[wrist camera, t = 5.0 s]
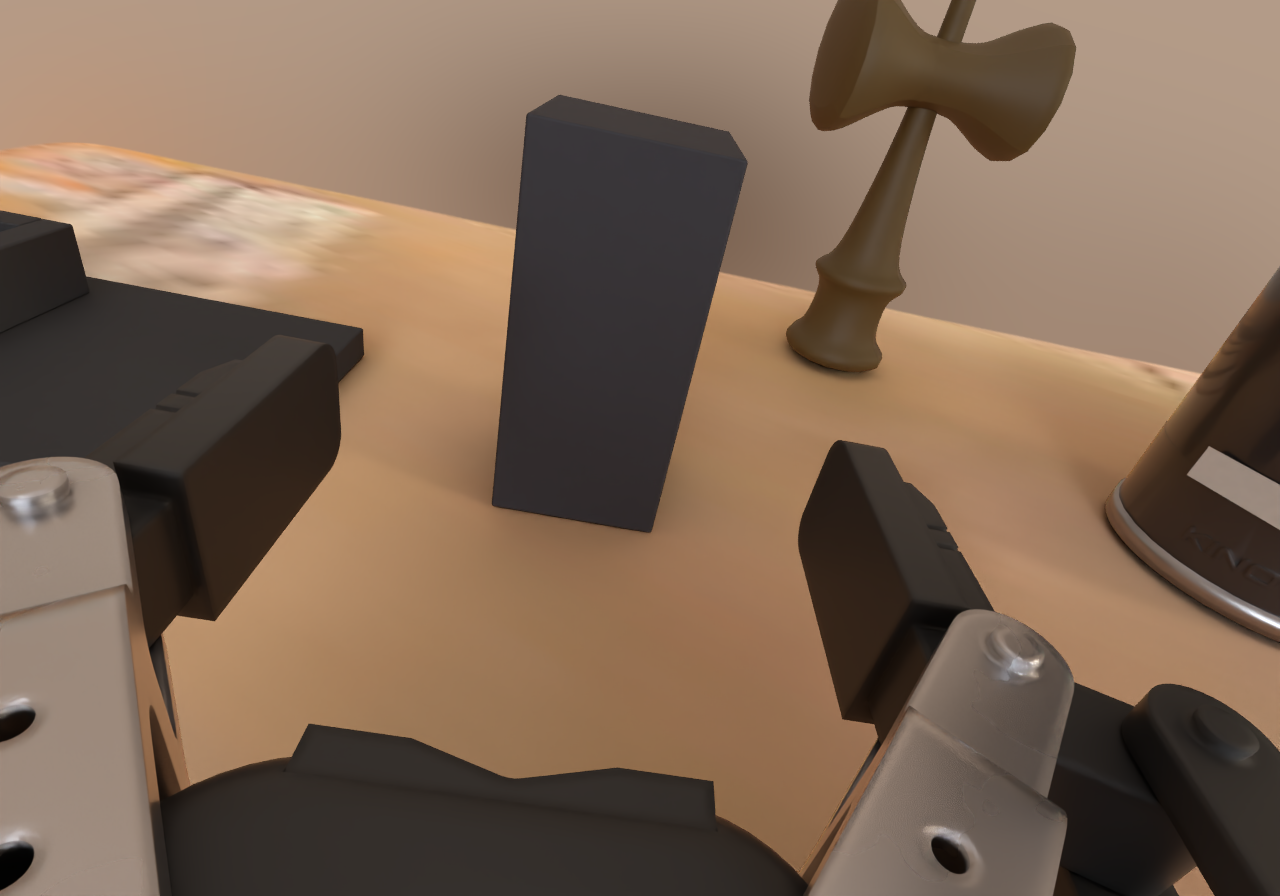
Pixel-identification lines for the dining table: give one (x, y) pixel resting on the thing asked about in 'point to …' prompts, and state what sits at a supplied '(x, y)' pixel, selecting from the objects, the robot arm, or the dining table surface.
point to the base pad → (109, 344)
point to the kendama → (913, 142)
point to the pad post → (608, 305)
